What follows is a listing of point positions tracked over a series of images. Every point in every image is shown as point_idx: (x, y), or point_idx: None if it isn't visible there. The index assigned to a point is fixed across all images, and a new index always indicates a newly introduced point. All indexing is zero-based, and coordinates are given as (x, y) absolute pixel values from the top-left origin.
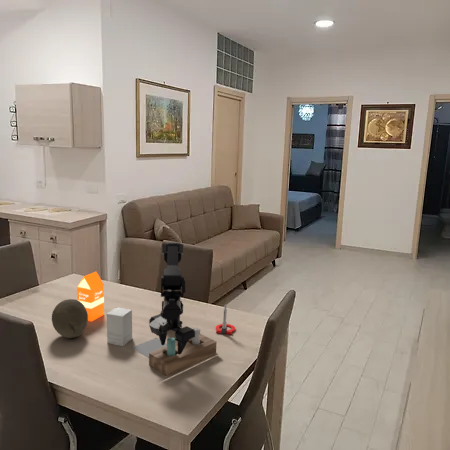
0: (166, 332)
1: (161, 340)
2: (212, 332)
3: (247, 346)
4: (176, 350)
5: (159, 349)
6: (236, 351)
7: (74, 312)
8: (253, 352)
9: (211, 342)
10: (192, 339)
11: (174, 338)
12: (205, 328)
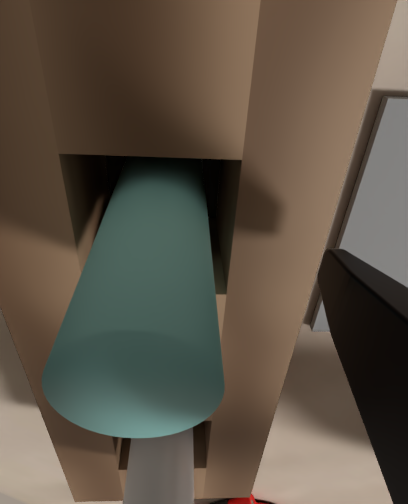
0: (388, 463)
1: (366, 288)
2: (267, 488)
3: (64, 500)
4: None
5: (327, 184)
6: (53, 467)
7: None
8: (3, 491)
9: (83, 486)
10: (169, 462)
11: (133, 433)
12: (318, 489)
